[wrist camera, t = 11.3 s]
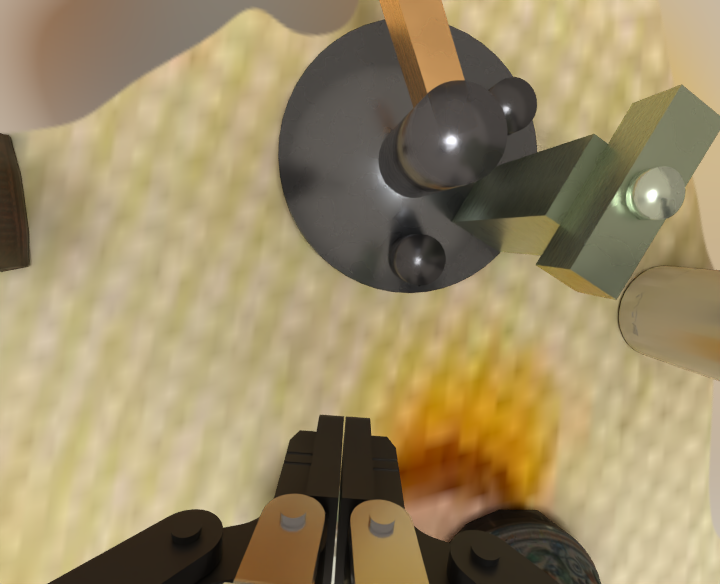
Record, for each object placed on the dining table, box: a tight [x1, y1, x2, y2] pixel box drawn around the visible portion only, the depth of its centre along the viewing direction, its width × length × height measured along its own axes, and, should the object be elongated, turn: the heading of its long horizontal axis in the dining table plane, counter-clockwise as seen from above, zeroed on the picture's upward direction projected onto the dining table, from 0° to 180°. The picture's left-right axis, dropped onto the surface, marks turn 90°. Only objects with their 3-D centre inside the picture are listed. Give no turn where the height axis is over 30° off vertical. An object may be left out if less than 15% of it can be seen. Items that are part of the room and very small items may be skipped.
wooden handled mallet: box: [379, 0, 507, 198], centre depth 29 cm, size 21×6×10 cm, turn 20°
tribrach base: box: [278, 20, 720, 300], centre depth 28 cm, size 22×22×20 cm
